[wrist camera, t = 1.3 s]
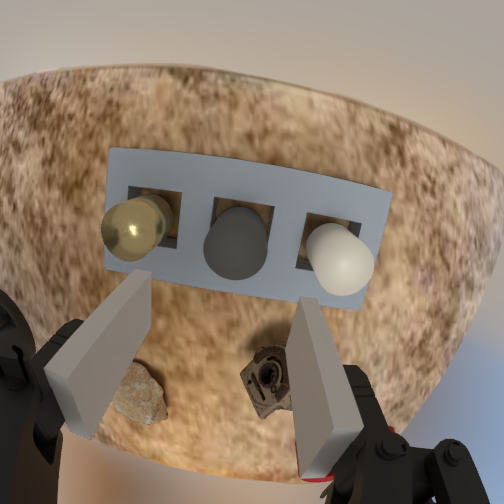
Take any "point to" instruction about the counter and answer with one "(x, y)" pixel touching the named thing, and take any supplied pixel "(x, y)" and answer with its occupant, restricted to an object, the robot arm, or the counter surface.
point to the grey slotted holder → (250, 190)
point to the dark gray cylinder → (236, 244)
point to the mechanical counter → (268, 380)
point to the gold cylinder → (136, 226)
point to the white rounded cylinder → (339, 259)
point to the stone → (140, 396)
